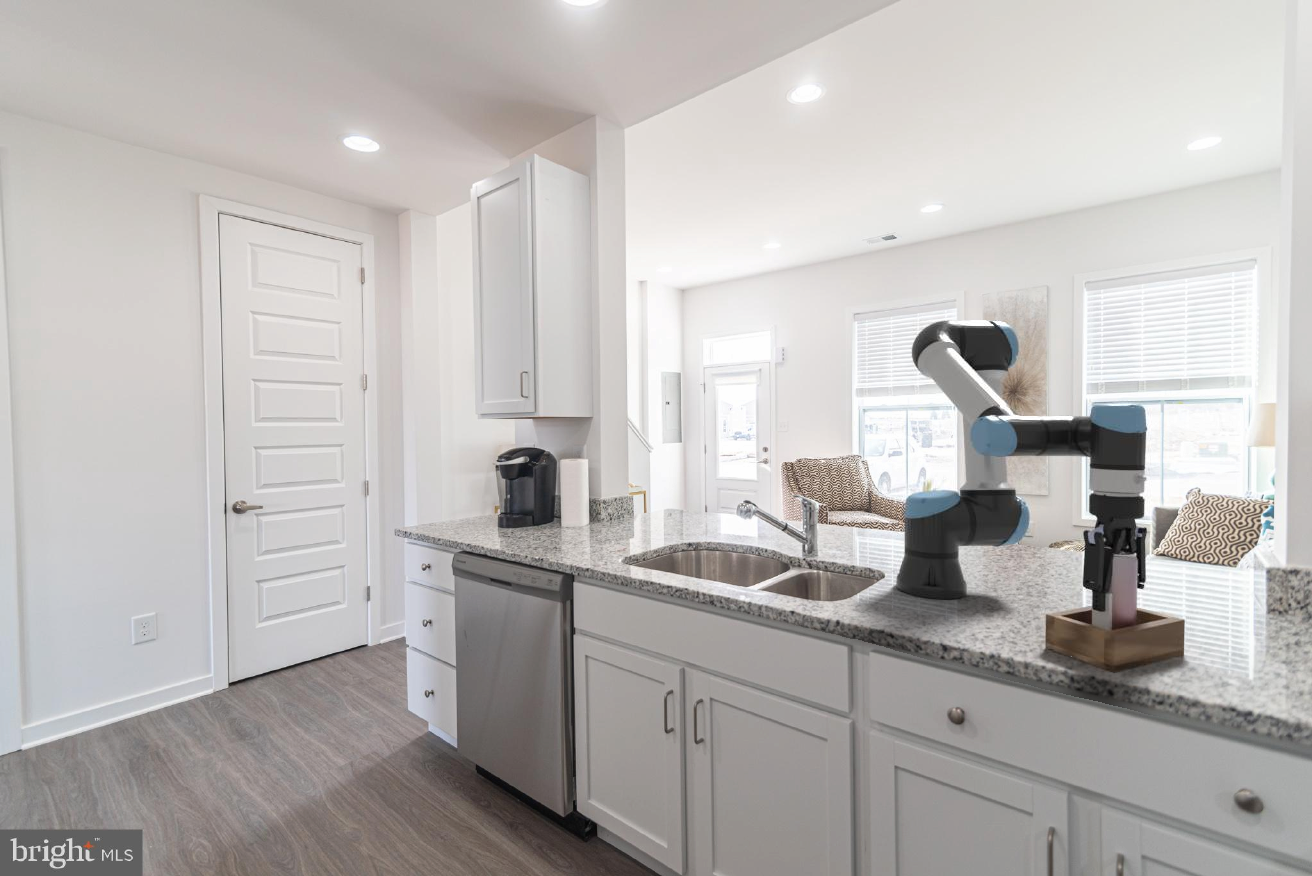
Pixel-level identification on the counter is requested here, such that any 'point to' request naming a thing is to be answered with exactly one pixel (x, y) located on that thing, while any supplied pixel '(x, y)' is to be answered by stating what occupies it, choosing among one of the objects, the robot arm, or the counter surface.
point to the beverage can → (1124, 590)
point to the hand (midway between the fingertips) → (1113, 626)
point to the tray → (1115, 639)
